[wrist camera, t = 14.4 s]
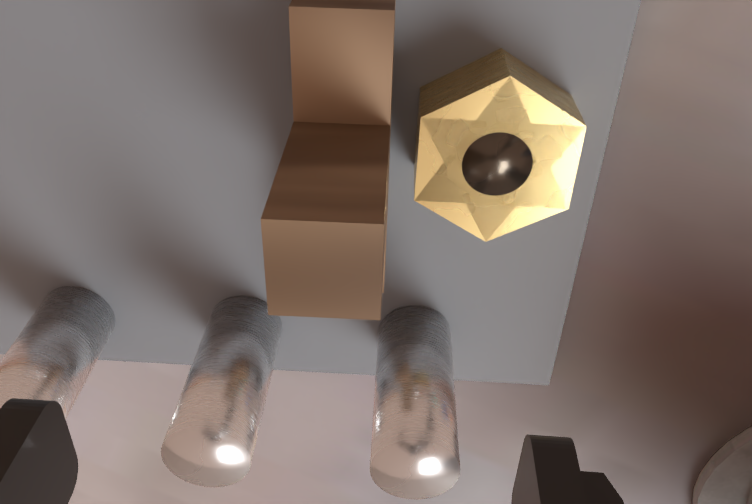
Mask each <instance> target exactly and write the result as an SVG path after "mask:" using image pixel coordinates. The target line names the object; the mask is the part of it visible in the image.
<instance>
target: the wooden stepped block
mask: <svg viewBox="0 0 752 504" xmlns="http://www.w3.org/2000/svg"><path fill="white" fill-rule="evenodd" d="M395 6H396V0H292V1H291V3H290V5H289V28H290V51H291V74H292V97H293V120H294V122H293V125H292V128H291V131H290V134H289V137H288V140H287V143H286V145H285V148H284V151H283V154H282V157H281V160H280V163H279V166H278V169H277V172H276V175H275V178H274V181H273V184H272V187H271V190H270V193H269V196H268V199H267V202H266V205H265V207H264V210H263V213H262V216H261V231H262V244H263V257H264V269H265V282H266V295H267V308H268V315H275V316H297V317H319V318H340V319H362V320H381V303H382V293H384V281H385V263H386V239H387V213H388V187H389V161H390V135H391V110H392V84H393V58H394V32H395Z"/></svg>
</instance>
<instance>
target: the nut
mask: <svg viewBox="0 0 752 504" xmlns="http://www.w3.org/2000/svg"><path fill="white" fill-rule="evenodd" d="M586 127H587V126H586V124H585V122H584V120H583V118H582V116H581V114H580V112H579V110H578V108H577V106H576V103H575V101H574V99H573V97H572V95H571V94H569V93H568V92H566V91H565V90H563V89H562V88H560V87H559V86H557V85H556V84H554V83H553V82H551V81H550V80H548V79H547V78H545V77H544V76H542V75H541V74H539V73H538V72H536V71H535V70H534V69H532V68H531V67H529V66H528V65H526V64H525V63H523V62H522V61H520V60H519V59H517V58H516V57H514V56H513V55H511V54H510V53H508V52H507V51H505V50H504V49H502V48H500V49H498V50H496V51H494V52H492V53H490V54H488V55H486V56H484V57H482V58H480V59H477V60H475V61H473V62H471V63H469V64H467V65H465V66H463V67H461V68H459V69H457V70H455V71H453V72H450V73H448V74H446V75H444V76H442V77H440V78H438V79H436V80H434V81H432V82H430V83H428V84H426V85H423V86H421V87H420V93H419V107H418V120H417V133H416V147H415V160H414V201H416V202H418V203H419V204H421V205H423V206H424V207H426V208H428V209H430V210H431V211H433V212H435V213H437V214H438V215H440V216H442V217H444V218H445V219H447V220H449V221H450V222H452V223H454V224H456V225H457V226H459V227H461V228H463V229H464V230H466V231H468V232H469V233H471V234H473V235H475V236H476V237H478V238H480V239H482V240H483V241H485V242H487V241H489V240H492V239H494V238H497V237H499V236H502V235H504V234H507V233H509V232H512V231H514V230H517V229H519V228H522V227H524V226H527V225H529V224H532V223H534V222H537V221H539V220H542V219H544V218H547V217H549V216H552V215H555V214H557V213H560V212H562V211H565V210H567V209H569V205H570V200H571V195H572V191H573V186H574V182H575V177H576V173H577V168H578V163H579V159H580V154H581V150H582V145H583V141H584V136H585V131H586Z"/></svg>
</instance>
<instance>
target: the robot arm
mask: <svg viewBox="0 0 752 504" xmlns="http://www.w3.org/2000/svg"><path fill="white" fill-rule="evenodd" d="M77 474H78V459H77V455H76V452H75V449H74V445H73V442H72V439H71V436H70V433H69V429H68V426H67V423H66V420H65V417H64V413H63V410H62V407H61V405H60V404H59V403H58V402H56V401H48V400H33V399H18V398H12V399H9V400H8V401H6V402H5V403H4V405H3V406H2V407H1V409H0V504H68V502H69V500H70V498H71V495H72V493H73V490H74V488H75V484H76V480H77ZM512 504H624V502H623V500H622V498H621V497H620V496H619V494H618V493H617V491H616V490H615V489H614V487H613V486H612V484H611V483H610V482H609V480H608V479H607V477H606V476H605V475H604V473H598V472H584V471H580V468H579V464H578V459H577V454H576V450H575V446H574V443H573V440H572V439H571V438H568V437H553V436H538V435H526V437H525V439H524V443H523V447H522V452H521V456H520V461H519V465H518V470H517V474H516V478H515V483H514V487H513V493H512Z"/></svg>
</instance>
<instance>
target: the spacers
mask: <svg viewBox="0 0 752 504" xmlns="http://www.w3.org/2000/svg"><path fill="white" fill-rule="evenodd" d="M114 327H115V315H114V312H113V310H112V308H111V307H110V305H109V304H108V303H107V302H106V301H105V300H104V299H103V298H102V297H101V296H99V295H98V294H96V293H94V292H93V291H90V290H88V289H85V288H82V287H77V286H62V287H58V288H56V289H54V290H52V291H50V292H49V293H48V294H47V295H46V297H45V298H44V300H43V301H42V302H41V304H40V305H39V307H38V308H37V310H36V311H35V312H34V314H33V315H32V317H31V318H30V320H29V321H28V322H27V324H26V325H25V327H24V328H23V330H22V331H21V333H20V334H19V335H18V337H17V338H16V340H15V341H14V343H13V344H12V345H11V347H10V348H9V350H8V351H7V353H6V354H5V356H4V357H3V358H2V360H1V361H0V409H1V407H2V406H3V405H4V403H5V402H6V401H8V400H9V399H12V398H18V399H33V400H48V401H56V402H58V403H59V404H60V405H61V407H62V410H63V413H64V417H65V420H66V418H67V416H68V414H69V412H70V410H71V408H72V406H73V405H74V403H75V401H76V399H77V397H78V395H79V393H80V391H81V390H82V388H83V386H84V384H85V382H86V380H87V378H88V376H89V375H90V373H91V371H92V369H93V367H94V365H95V363H96V361H97V360H98V358H99V356H100V354H101V352H102V350H103V348H104V347H105V345H106V343H107V341H108V339H109V337H110V335H111V333H112V332H113V330H114ZM281 332H282V322H281V318H280V316H275V315H268V308H267V303H266V302H265V301H263V300H261V299H258V298H255V297H251V296H245V295H238V296H232V297H228V298H225V299H223V300H222V301H220V302H219V303H218V304H217V305H216V306H215V307H214V308H213V310H212V312H211V315H210V318H209V321H208V323H207V326H206V329H205V331H204V334H203V337H202V339H201V342H200V345H199V347H198V350H197V353H196V356H195V358H194V361H193V364H192V366H191V369H190V372H189V374H188V377H187V380H186V383H185V385H184V388H183V391H182V393H181V396H180V399H179V401H178V404H177V407H176V410H175V412H174V415H173V418H172V420H171V423H170V426H169V428H168V431H167V434H166V436H165V439H164V442H163V445H162V448H161V456H162V459H163V462H164V464H165V465H166V467H167V468H168V469H169V470H170V471H171V472H172V473H173V474H174V475H176V476H177V477H179V478H181V479H182V480H184V481H187V482H189V483H192V484H195V485H199V486H204V487H224V486H228V485H232V484H234V483H237V482H238V481H240V480H241V479H243V478H244V477H245V476H246V475H247V473H248V472H249V469H250V465H251V461H252V457H253V453H254V448H255V444H256V440H257V435H258V431H259V427H260V423H261V418H262V414H263V410H264V405H265V401H266V397H267V393H268V388H269V384H270V380H271V375H272V371H273V367H274V363H275V358H276V354H277V350H278V345H279V341H280V337H281ZM370 473H371V477H372V479H373V480H374V482H375V483H376V484H377V485H378V486H379V487H380V488H381V489H382V490H384V491H385V492H387V493H389V494H391V495H394V496H397V497H400V498H406V499H426V498H431V497H435V496H438V495H440V494H443V493H445V492H446V491H448V490H449V489H450V488H452V487H453V486H454V485H455V483H456V482H457V480H458V478H459V475H460V460H459V446H458V431H457V416H456V401H455V386H454V372H453V357H452V342H451V329H450V326H449V323H448V321H447V320H446V318H445V317H444V316H443V315H442V314H440V313H439V312H438V311H436V310H434V309H432V308H429V307H426V306H421V305H407V306H402V307H399V308H397V309H395V310H393V311H391V312H390V313H388V314H387V315H386V316H385V317H384V318H383V320H382V321H381V323H380V326H379V330H378V345H377V362H376V378H375V394H374V411H373V427H372V443H371V459H370Z"/></svg>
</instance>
